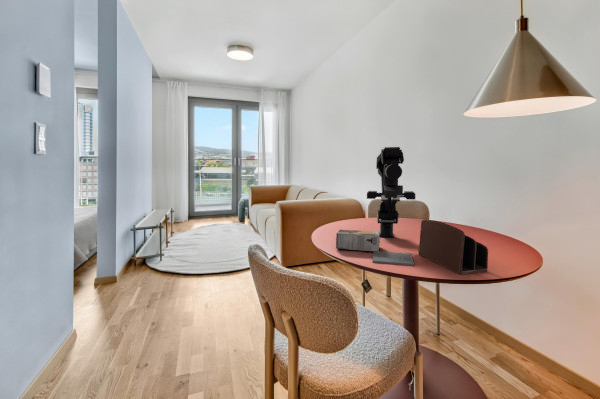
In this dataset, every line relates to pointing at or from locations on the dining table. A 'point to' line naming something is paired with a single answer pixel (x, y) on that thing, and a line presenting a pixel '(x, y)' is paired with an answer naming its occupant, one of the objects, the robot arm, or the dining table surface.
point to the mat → (392, 258)
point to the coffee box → (358, 240)
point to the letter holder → (452, 248)
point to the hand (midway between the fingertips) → (389, 215)
